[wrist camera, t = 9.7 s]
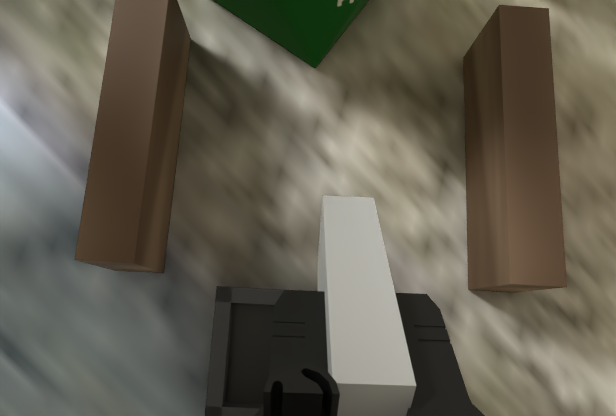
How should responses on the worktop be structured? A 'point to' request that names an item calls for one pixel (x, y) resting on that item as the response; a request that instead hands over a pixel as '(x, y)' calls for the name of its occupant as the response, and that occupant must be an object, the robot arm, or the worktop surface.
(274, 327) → the robot arm
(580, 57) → the worktop surface
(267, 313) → the pit tray
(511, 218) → the channel
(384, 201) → the worktop surface
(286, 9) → the soya milk
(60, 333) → the worktop surface
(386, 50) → the worktop surface
